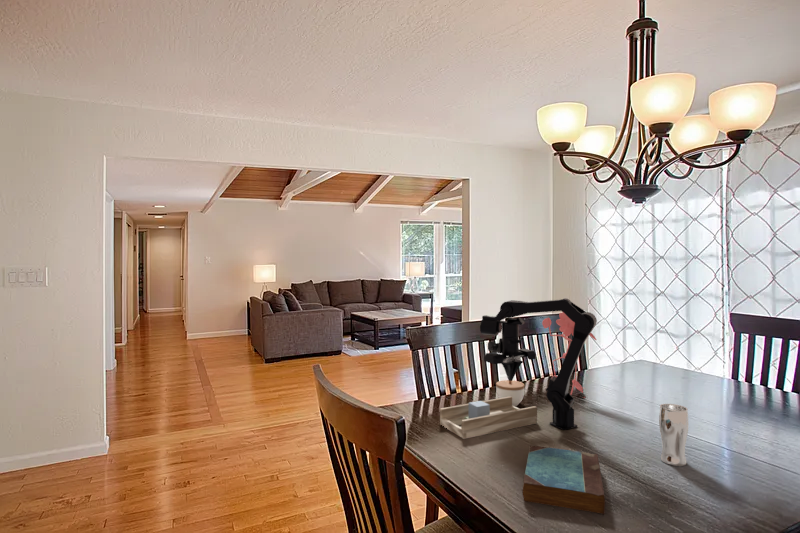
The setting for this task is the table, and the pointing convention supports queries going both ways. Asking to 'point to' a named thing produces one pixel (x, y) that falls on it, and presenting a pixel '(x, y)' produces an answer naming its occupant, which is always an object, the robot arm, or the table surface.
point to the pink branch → (567, 329)
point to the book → (564, 479)
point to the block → (478, 409)
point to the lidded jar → (510, 390)
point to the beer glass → (673, 433)
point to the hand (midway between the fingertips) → (510, 380)
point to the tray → (487, 418)
